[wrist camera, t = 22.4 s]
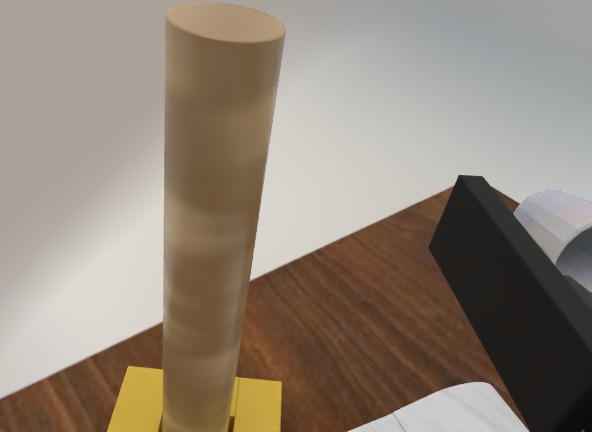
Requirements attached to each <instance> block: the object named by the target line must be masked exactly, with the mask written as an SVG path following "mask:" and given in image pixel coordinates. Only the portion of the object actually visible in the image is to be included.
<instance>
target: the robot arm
mask: <svg viewBox="0 0 592 432" xmlns="http://www.w3.org/2000/svg"><path fill="white" fill-rule="evenodd" d="M428 248H429V249H430V251H431V253H432V255H433V257H434V258H435V260H436V262H437V264H438V266H439V267H440V269H441V271H442V273H443V275H444V276H445V278H446V280H447V282H448V284H449V285H450V287H451V289H452V291H453V293H454V294H455V296H456V298H457V300H458V302H459V303H460V305H461V307H462V309H463V311H464V312H465V314H466V316H467V318H468V320H469V321H470V323H471V325H472V327H473V328H474V330H475V332H476V334H477V336H478V337H479V339H480V341H481V343H482V345H483V346H484V348H485V350H486V352H487V354H488V355H489V357H490V359H491V361H492V363H493V364H494V366H495V368H496V370H497V372H498V373H499V375H500V377H501V379H502V381H503V382H504V384H505V386H506V388H507V390H508V391H509V393H510V395H511V397H512V399H513V400H514V402H515V404H516V406H517V408H518V409H519V411H520V413H521V415H522V417H523V418H524V420H525V422H526V424H527V426H528V427H529V429H530V431H531V432H581V431H582V430H583V429H584V431H585V432H592V294H591V293H590V292H589V291H588V290H587V289H586V288H585V287H583V286H582V285H581V284H580V283H578V282H577V281H576V280H574V279H573V278H572V277H570V276H569V275H562V273H561V272H560V271H559V270H558V268H557V267H556V266H555V265H554V264H553V262H552V261H551V260H550V259H549V257H548V256H547V255H546V254H545V252H544V251H543V250H542V249H541V248H540V246H539V245H538V244H537V243H536V241H535V240H534V239H533V238H532V236H531V235H530V234H529V233H528V232H527V230H526V229H525V228H524V227H523V225H522V224H521V223H520V222H519V221H518V219H517V218H516V217H515V216H514V214H513V213H512V212H511V211H510V209H509V208H508V207H507V206H506V205H505V203H504V202H503V201H502V200H501V198H500V197H499V196H498V195H497V194H496V192H495V191H494V190H493V189H492V187H491V186H490V185H489V184H488V183H487V181H486V180H485V179H484V178H483V177H482V176H467V175H466V176H465V175H459V176H458V179H457V181H456V183H455V186H454V188H453V190H452V193H451V195H450V197H449V200H448V202H447V205H446V207H445V209H444V212H443V214H442V216H441V219H440V221H439V223H438V226H437V228H436V231H435V233H434V235H433V238H432V240H431V242H430V245H429V247H428Z"/></svg>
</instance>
